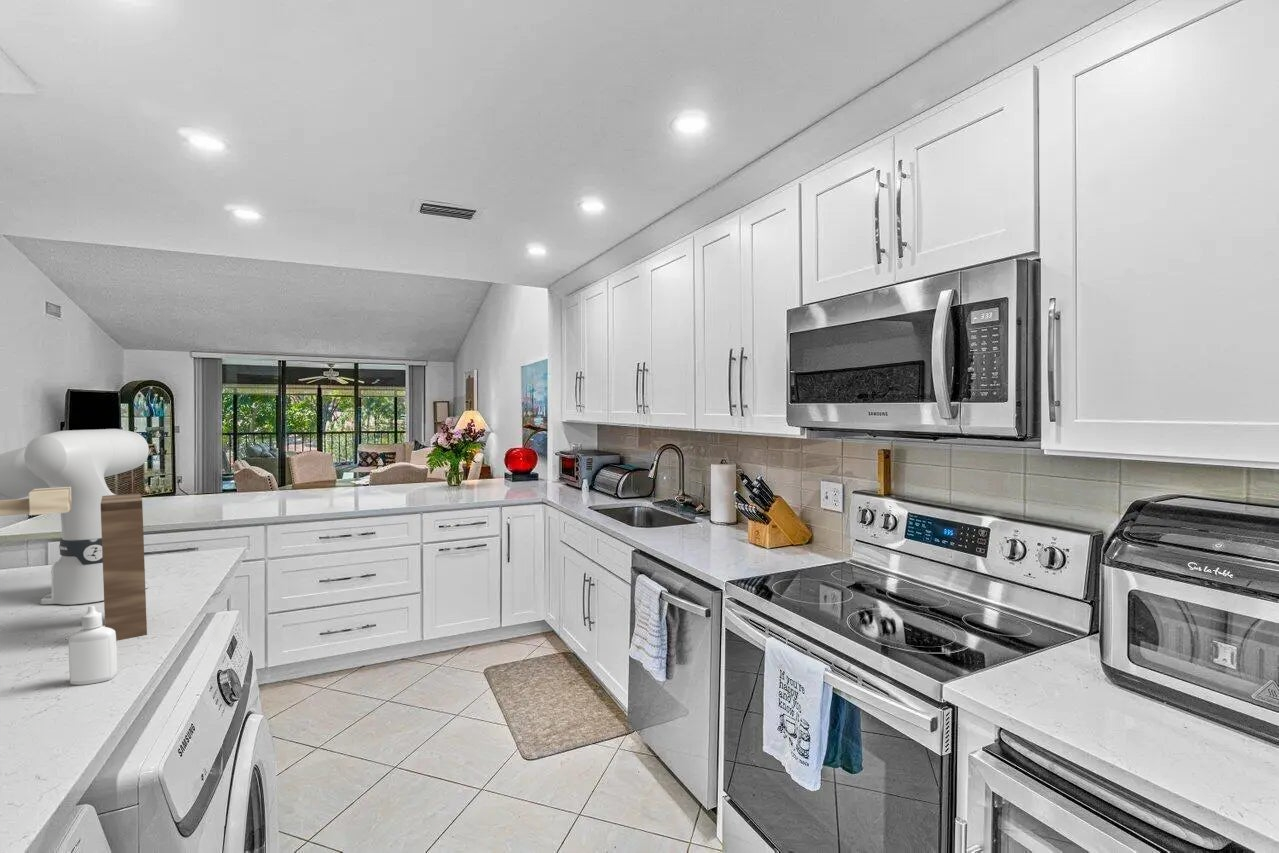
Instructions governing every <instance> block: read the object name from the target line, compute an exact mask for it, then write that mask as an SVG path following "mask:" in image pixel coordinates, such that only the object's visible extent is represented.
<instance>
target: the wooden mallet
mask: <svg viewBox="0 0 1279 853" xmlns="http://www.w3.org/2000/svg"><path fill="white" fill-rule="evenodd" d="M70 509H71V487H58V488H41V489H34V490H33V491H31V492H30V493H29V496H28V498H20V499H13V500H0V517H3V516H17V515H20V516H21V515H29V516H37V515H49V514H60V513H65V512H69V510H70Z"/></svg>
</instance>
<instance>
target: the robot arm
mask: <svg viewBox="0 0 1279 853" xmlns="http://www.w3.org/2000/svg"><path fill="white" fill-rule="evenodd" d="M149 448H150V447H149V444H148V442H147V440H146V439H145V437H143V435H142V434H140V433H138V432H135V431H131V430H126V429H121V428H105V429H104V428H102V429H101V428H99V429H97V428H96V429H72V430H71V429H70V430H59V431H54V432H53V431H52V432H50V433H46V434H43V435H38V436H36V437H34V438H33V439H31V440H30V441H29V442H28V443H27V446H23V447H20V448H17V449H14V450H13V449H12V450H11V451H7V452H4V453H0V500H13V499H25V498H27V497H29V493H30V492H31V491H33V490H34V489H41V488H58V487H71V509H70V510H69V512H65V513H59V514H60V521H61V525H60V526H61V537H62V538H60V540H59V545H58V548H59V555H60V556H61V557H60V558H59V560H58V561H56V562H55V563H54V564H53V565H51V570H50V573H51V592H50V593H48V594H47V595H45V596H44V597H43V598H41V599H40V605H81V604H83V605H84V604H90V603H97V602H102V601H103V602H104V584H103V557H102V531H101V499H102V496H109V495H117V494H116V493H113V491H111V490H110V487H108V484H107V483H106V480H105V478H106V477H107V478H108V477H112V476H114V475H118V474H122V473H125V472H129V471H132V470H135V469H137V468H140V467H141V466H143V465H144V464H145V462H146V461H147V459H148V457H149V452H150V449H149ZM148 588H149V583H148V582H146V581H145V590H147V589H148Z"/></svg>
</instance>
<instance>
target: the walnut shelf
mask: <svg viewBox="0 0 1279 853" xmlns="http://www.w3.org/2000/svg"><path fill="white" fill-rule="evenodd" d="M143 509H144V508H143V498H142V494H141V493H140V492H138V493H136V492H135V493H124V494H116V495H109V496H102V499H101V531H102V557H103V584H104V600H103V604H104V605H103V606H104V627H108V628H111V629H113V630H115V632H116V641H120V640H126V639H130V638H135V637H136V638H137V637H142V636H146V635H148V627H147V626H148V624H147V621H148V620H147V600H146V599H147V598H146V597H147V595H146V589H145V582H146V570H145V569H146V568H145V544H144V543H145V542H144V540H145V537H144V515H143V514H144V510H143Z"/></svg>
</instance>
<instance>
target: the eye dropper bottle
mask: <svg viewBox="0 0 1279 853" xmlns="http://www.w3.org/2000/svg"><path fill="white" fill-rule="evenodd" d="M68 663H69V665H68V666H69V683H70V684H71V685H75V686H76V685H77V686H83V685H95V684H99V683H104V682H108V681H111V680H112V679H114V678H115V677H116V676H117V675H118V648H117V640H116V632H115V630H113V629H111V628H108V627H105V626H103V612H101V611H100V612H99V611H97V609H96V606H95V605H89V606H88V607H87V612H86V613H85V614H83V615H82V616H81V629H79V630H78V631H76V632H74V633H73V634H72V635H71V636H70V637H69V639H68Z"/></svg>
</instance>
